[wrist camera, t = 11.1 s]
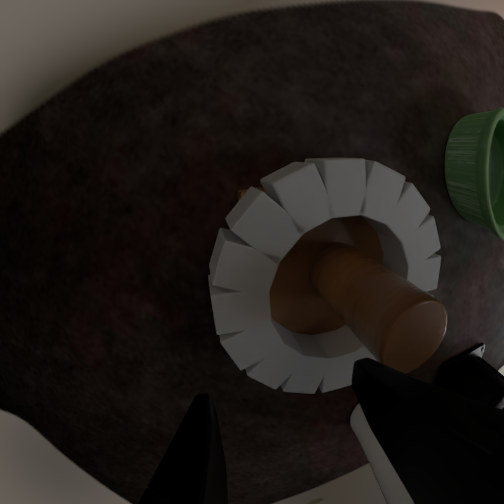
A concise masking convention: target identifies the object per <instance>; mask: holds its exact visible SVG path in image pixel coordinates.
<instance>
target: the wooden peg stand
mask: <svg viewBox="0 0 504 504" xmlns="http://www.w3.org/2000/svg"><path fill="white" fill-rule="evenodd" d="M256 189H258V190H261V191H263V192H264V193H265V194H266V192H265V190H264V188H263V187H256ZM248 190H249V188H248V189H240V190H237V194H238V202H239V200H240V199H241V198H242V197H243V196H244V194H245V193H246V192H247V191H248ZM270 308H271V317H272V319H273V320H274V321H276V322H277V323H279V324H280V325H282V326H283V327H285V328H286V329H288V330H289V331H291V332H295V333H302V334H308V335H316V334H320V333H325V332H329V331H334V330H337V329H339V328H341V327H342V326H344V325H345V324H346V325H347V326H348V328H349V329H350V330H351V331H352V332H353V333H354V334H355V336H356V337H357V338H358V339H359V340H360V341H361V342H362V344H363V345H364V346H365V347H366V348H367V349H368V351H369V352H370V353H371V354H372V355H373V356H374V357H375V359H376V360H377V361H378V362H380V363H382V364H385V365H387V366H389V367H392V368H394V369H396V370H399V371H401V372H403V373H408V372H410V371H412V370H414V369H416V368H418V367H419V366H421V365H422V364H423V363H424V362H426V361H427V360H428V359H429V358H430V357H431V356H432V354H433V353H434V352H435V351H436V349H437V348H438V346H439V344H440V343H441V341H442V339H443V337H444V334H445V331H446V327H447V312H446V309H445V307H444V305H443V304H442V303H441V302H440V301H438V300H437V299H435V298H434V297H432V296H431V295H429V294H428V293H426V292H425V291H423V290H422V289H420V288H419V287H417V286H415V285H414V284H412V283H411V282H409V281H408V280H406V279H405V278H403V277H401V276H400V275H398V274H397V273H395V272H393V271H392V270H390V269H389V268H387V267H385V266H384V265H383V250H382V247H381V244H380V241H379V238H378V235H377V232H376V231H375V230H374V229H373V227H372V226H371V225H370V224H369V223H368V222H367V221H366V220H365V219H364V218H363V217H362V216H361V215H357V216H347V217H337V218H331V219H329V220H327V221H325V222H324V223H322V224H320V225H318V226H317V227H315V228H313V229H311V230H309V231H308V232H306V233H304V234H303V235H302V236H301V237H300V239H299V240H298V241H297V242H296V243H295V245H294V246H293V247H292V248H291V249H290V251H289V252H288V253H287V254H286V255H285V256H284V258H283V259H282V260H281V261H280V263H279V266H278V269H277V272H276V275H275V278H274V280H273V283H272V286H271V289H270Z"/></svg>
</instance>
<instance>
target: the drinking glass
mask: <svg viewBox="0 0 504 504" xmlns="http://www.w3.org/2000/svg"><path fill="white" fill-rule="evenodd" d="M350 425H351V428H352V430H353V431H354V433H355V435H356V437H357V438H358V440H359V442H360V444H361V446H362V448H363V451H364V453H365V455H366V457H367V459H368V462H369V464H370V466H371V468H372V471H373V473H374V475H375V477H376V480H377V482H378V484H379V487H380V489H381V491H382V493H383V496H384V498H385V501H386V503H387V504H414V502H413V500H412V499H411V497H410V495H409V494H408V492H407V490H406V488H405V487H404V485H403V483H402V481H401V480H400V478H399V476H398V475H397V473H396V471H395V470H394V468H393V466H392V464H391V463H390V461H389V459H388V458H387V456H386V454H385V453H384V451H383V449H382V447H381V446H380V444H379V442H378V441H377V439H376V437H375V436H374V434H373V432H372V430H371V429H370V427H369V424H368V422H367V420H366V418H365V415H364V413H363V411H362V408H361V406H360V404H359V403H358V404H357V405H356V407H355V408H354V410H353V412H352V414H351V417H350Z"/></svg>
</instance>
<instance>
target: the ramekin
mask: <svg viewBox="0 0 504 504" xmlns="http://www.w3.org/2000/svg"><path fill="white" fill-rule="evenodd" d="M445 179H446V185H447V189H448V193H449V196H450V198H451V201H452V203H453V205H454V207H455V209H456V210H457V212H458V213H459V214H460V215H461V216H462V217H463V218H465V219H466V220H468V221H470V222H472V223H474V224H476V225H478V226H481V227H483V228H485V229H487V230H489V231H491V232H493V233H494V234H495V235H496V236H497V237H499V238H500V239H501V240H503V241H504V107H501V108H499V109H497V110H494V111H488V112H482V113H475V114H470V115H467V116H465V117H463V118H461V119H460V120H459V121H458V122H457V123H456V124H455V126H454V127H453V129H452V131H451V133H450V136H449V139H448V142H447V146H446V152H445Z"/></svg>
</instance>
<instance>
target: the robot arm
mask: <svg viewBox="0 0 504 504" xmlns="http://www.w3.org/2000/svg"><path fill="white" fill-rule="evenodd" d="M484 349H485V345H484V344H483V343H480V344H479V345H477V346H475V347H473V348H471V349H469V350H468V351H466V352H464V353H462V354H460V355H458V356H456V357H454V358H452V359H450V360H448V361H446V362H444V363H443V364H442V365H441V367H440V369H439V373H438V376H437V379H436V382H435V385H433V384H430V383H428V382H425V381H423V380H420V379H418V378H415V377H413V376H411V375H408V374H406V373H403V372H401V371H399V370H396V369H394V368H392V367H389V366H387V365H385V364H382V363H380V362H378V361H375V360H373V359H371V358H368V357H366V358H362V359H359V360H356V361H355V362H354V365H353V373H352V388H353V390H354V392H355V395H356V397H357V399H358V402H359V404H360V406H361V408H362V411H363V413H364V415H365V418H366V420H367V422H368V424H369V427H370V429H371V430H372V432H373V434H374V436H375V437H376V439H377V441H378V442H379V444H380V446H381V447H382V449H383V451H384V453H385V454H386V456H387V458H388V459H389V461H390V463H391V464H392V466H393V468H394V470H395V471H396V473H397V475H398V476H399V478H400V480H401V481H402V483H403V485H404V487H405V488H406V490H407V492H408V494H409V495H410V497H411V499H412V500H413V502H414V504H504V376H503V375H502V374H501V373H499V372H498V371H497V370H496V369H495V368H493V367H492V366H491V365H490V364H489V363H487V362H486V361H485V360H484V359H482V358H481V357H482V355H483V352H484ZM148 488H149V489H148ZM148 488H147V489H146V490H145V492H144V494H143V496H142V498H141V499H140V501H139V503H138V504H228V490H227V472H226V462H225V456H224V451H223V446H222V440H221V435H220V429H219V424H218V418H217V414H216V410H215V406H214V403H213V399H212V396H211V394H210V393H206V394H199V395H196V396H195V397H194V399H193V401H192V403H191V405H190V407H189V409H188V411H187V413H186V415H185V417H184V419H183V420H182V422H181V424H180V426H179V428H178V430H177V432H176V434H175V436H174V438H173V440H172V441H171V443H170V445H169V447H168V449H167V451H166V453H165V455H164V457H163V459H162V460H161V462H160V464H159V466H158V468H157V470H156V472H155V474H154V475H153V477H152V479H151V481H150V483H149V485H148Z"/></svg>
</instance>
